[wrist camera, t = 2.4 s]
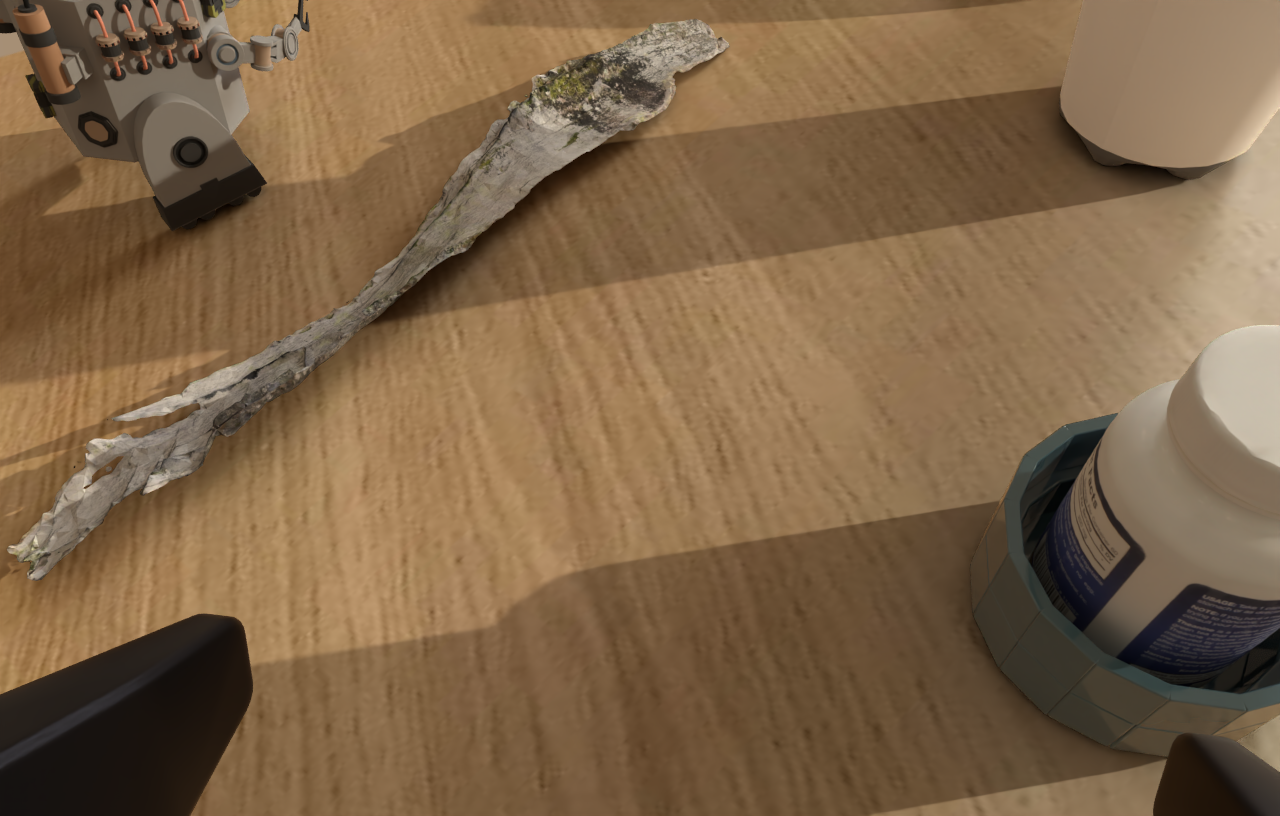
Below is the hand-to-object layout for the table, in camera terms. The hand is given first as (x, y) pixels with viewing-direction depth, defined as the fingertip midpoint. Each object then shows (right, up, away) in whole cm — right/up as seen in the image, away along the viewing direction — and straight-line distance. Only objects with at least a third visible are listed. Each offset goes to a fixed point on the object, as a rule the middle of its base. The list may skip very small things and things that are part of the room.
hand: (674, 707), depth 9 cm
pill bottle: (+13, -3, +16) cm, 21 cm away
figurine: (-19, +15, +32) cm, 40 cm away
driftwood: (-8, +9, +27) cm, 30 cm away
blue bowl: (+13, -3, +16) cm, 21 cm away
